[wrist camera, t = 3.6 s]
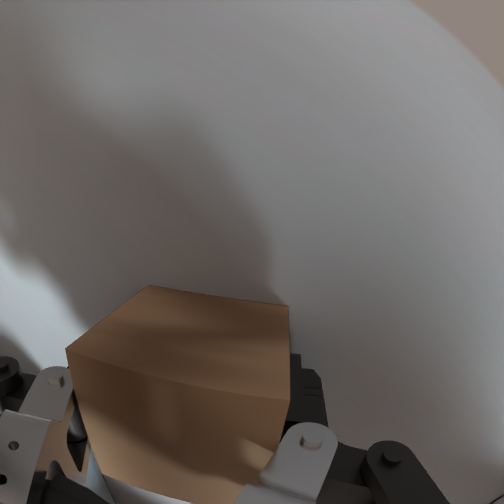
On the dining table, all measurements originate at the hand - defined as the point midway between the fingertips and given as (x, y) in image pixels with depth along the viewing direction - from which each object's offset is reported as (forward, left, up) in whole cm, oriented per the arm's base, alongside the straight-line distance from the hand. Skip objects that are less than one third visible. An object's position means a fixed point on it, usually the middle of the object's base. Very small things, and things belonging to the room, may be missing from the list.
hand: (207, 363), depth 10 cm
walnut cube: (0, 0, 0) cm, 0 cm away
